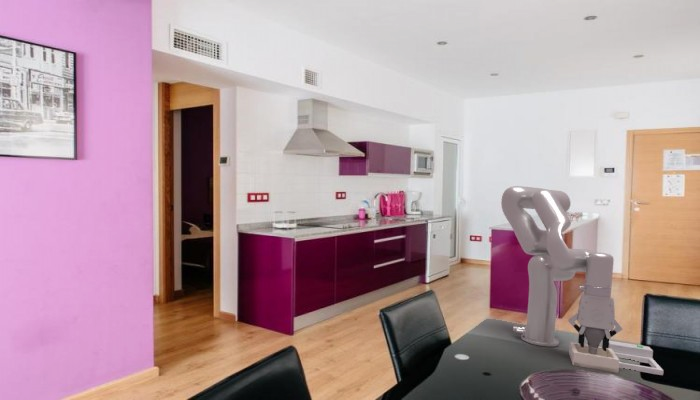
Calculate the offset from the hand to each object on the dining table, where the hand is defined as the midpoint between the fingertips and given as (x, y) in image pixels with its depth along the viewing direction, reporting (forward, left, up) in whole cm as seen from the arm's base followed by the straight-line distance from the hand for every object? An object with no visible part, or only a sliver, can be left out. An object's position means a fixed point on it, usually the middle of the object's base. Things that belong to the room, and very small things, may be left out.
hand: (593, 347), depth 147 cm
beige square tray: (0, 0, -5) cm, 5 cm away
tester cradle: (+13, +8, -5) cm, 16 cm away
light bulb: (0, 0, -2) cm, 2 cm away
